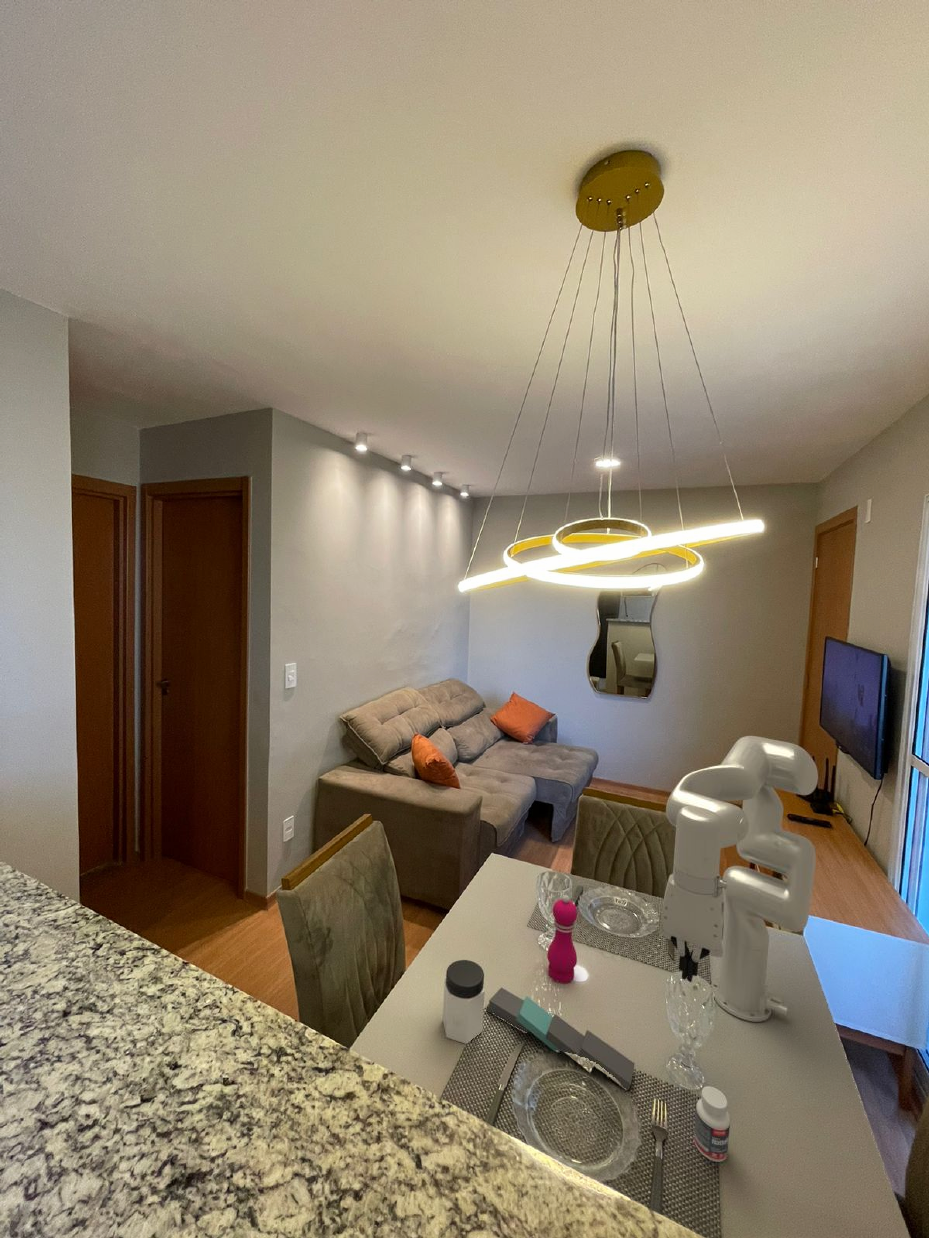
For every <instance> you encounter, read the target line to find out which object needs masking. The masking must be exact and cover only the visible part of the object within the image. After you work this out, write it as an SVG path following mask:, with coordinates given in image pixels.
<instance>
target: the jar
mask: <svg viewBox="0 0 929 1238" xmlns="http://www.w3.org/2000/svg"><path fill="white" fill-rule="evenodd" d="M445 971H446V974H445V979H444V987H443V989H444V990H443V1002H442V1003H443V1004H442V1006H443V1008H442V1024H443V1029H444V1034H445V1037H446V1039H450V1040H453V1041H455V1042H459V1043H462V1044H466V1045H467V1044H469V1043H470V1042H472V1041H473V1040H474V1039H476V1038H477V1037H478V1036H479V1034H480V1033H481V1032H482V1033H483V1024H484V1012H485V1011H484V1010H485V1009H484V1008H485V1007H484V1006H485V995H486V994H485V993H486V989H485V987H484V981H485V972H484V969H483V967H481V966H480V965H479V964H478V963H476V962H475V961H473V960H468V959H461V960H456V961H454V962H452V963H451V964H450V965H448V967H447V968H446V970H445ZM482 1033H481V1034H482ZM481 1034H480V1035H481ZM477 1035H478V1036H477ZM476 1036H477V1037H476ZM475 1037H476V1038H475ZM473 1038H474V1039H473ZM472 1039H473V1040H472ZM471 1040H472V1041H471Z"/></svg>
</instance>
